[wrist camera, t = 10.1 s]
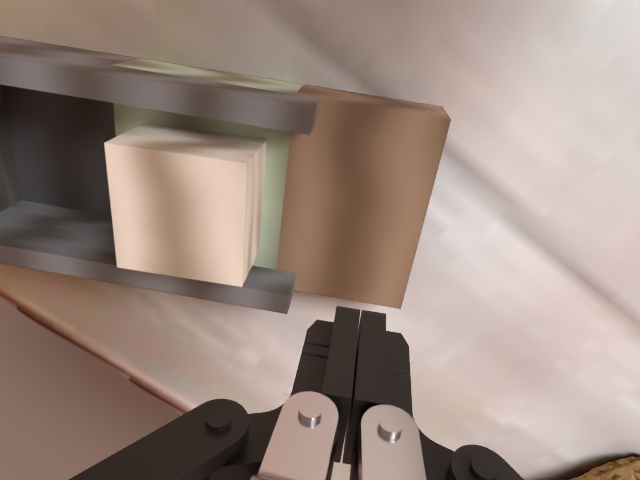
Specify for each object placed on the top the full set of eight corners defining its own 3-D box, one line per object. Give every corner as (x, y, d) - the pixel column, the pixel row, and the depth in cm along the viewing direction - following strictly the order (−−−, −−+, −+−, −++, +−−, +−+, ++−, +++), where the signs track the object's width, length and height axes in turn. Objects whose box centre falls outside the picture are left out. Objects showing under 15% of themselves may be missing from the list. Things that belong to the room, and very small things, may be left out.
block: (266, 140, 29) (247, 163, 25) (259, 249, 33) (241, 286, 29) (144, 122, 30) (104, 142, 25) (151, 232, 33) (117, 267, 29)
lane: (442, 106, 31) (458, 131, 25) (398, 280, 38) (402, 334, 31) (-27, 31, 32) (-123, 37, 26) (8, 212, 39) (-62, 252, 33)
